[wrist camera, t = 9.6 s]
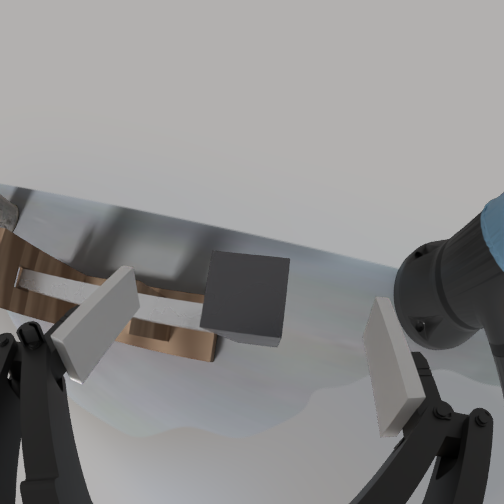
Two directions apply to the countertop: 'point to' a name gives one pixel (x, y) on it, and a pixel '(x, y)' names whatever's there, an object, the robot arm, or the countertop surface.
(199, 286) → the countertop surface
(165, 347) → the rail base
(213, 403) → the countertop surface
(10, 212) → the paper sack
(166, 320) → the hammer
